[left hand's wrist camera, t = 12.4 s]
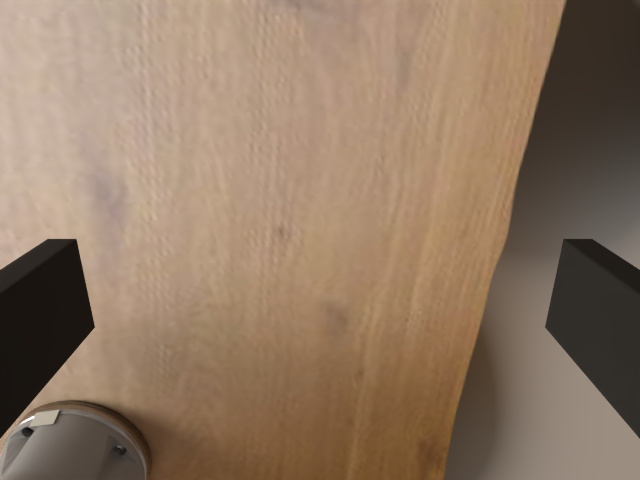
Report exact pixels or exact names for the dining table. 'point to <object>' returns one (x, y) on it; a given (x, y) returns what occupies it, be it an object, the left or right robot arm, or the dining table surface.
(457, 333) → the dining table surface
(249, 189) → the dining table surface
